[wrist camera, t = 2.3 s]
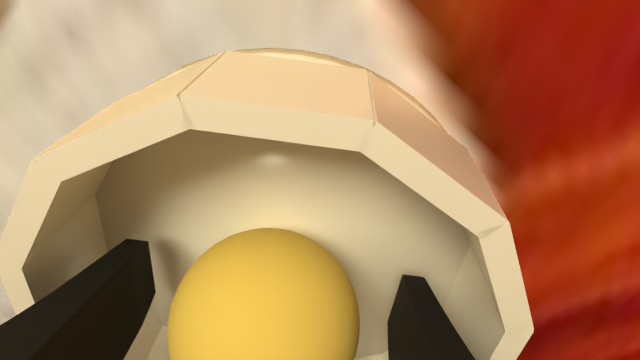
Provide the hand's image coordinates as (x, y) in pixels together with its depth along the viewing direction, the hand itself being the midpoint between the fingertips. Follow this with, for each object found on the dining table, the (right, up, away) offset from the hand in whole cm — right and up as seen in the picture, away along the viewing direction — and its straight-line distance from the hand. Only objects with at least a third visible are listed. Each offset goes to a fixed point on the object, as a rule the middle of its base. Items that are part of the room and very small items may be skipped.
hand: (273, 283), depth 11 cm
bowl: (0, +1, +2) cm, 2 cm away
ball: (0, +1, +1) cm, 1 cm away
